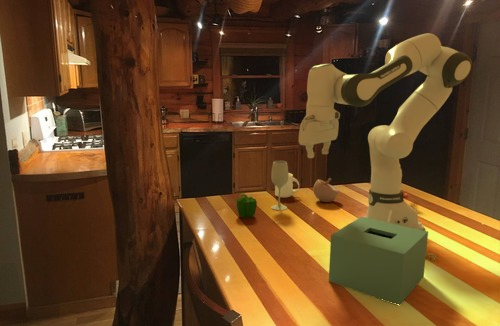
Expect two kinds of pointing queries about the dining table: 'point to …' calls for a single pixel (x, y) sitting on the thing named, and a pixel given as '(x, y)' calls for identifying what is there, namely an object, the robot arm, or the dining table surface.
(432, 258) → the dice set
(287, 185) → the mug
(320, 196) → the mortar and pestle
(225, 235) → the dining table surface
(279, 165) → the wineglass
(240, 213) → the bell pepper
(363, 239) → the coin box
